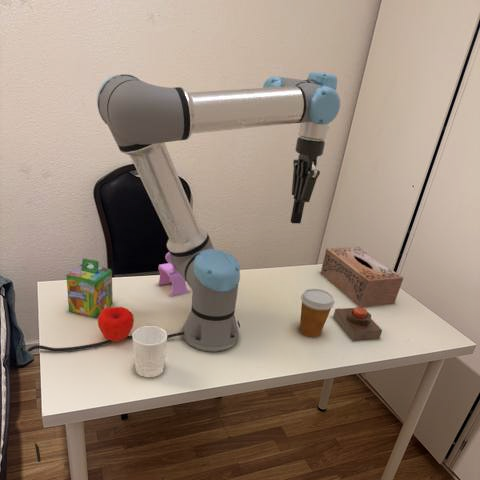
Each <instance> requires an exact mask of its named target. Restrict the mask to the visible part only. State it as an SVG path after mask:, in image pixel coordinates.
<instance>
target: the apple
mask: <svg viewBox="0 0 480 480" xmlns="http://www.w3.org/2000/svg"><path fill="white" fill-rule="evenodd" d="M134 321H135V319H134V314H133V312H132V311H131V310H130V309H128V308H125V307H122V306H110V307H109V308H106V309H104V310H103V311H102V312H101V313H100V315H99V317H98V318H97V326H98V329H99V331H100V332H101V334H102V336H103V337H104V338H105V339H106V340H110V341H114V342H120V341H124V340H126V339H125V338H126V337H127V336H130V334H131V332H132V329H133V327H134Z"/></svg>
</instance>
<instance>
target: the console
mask: <svg viewBox="0 0 480 480" xmlns="http://www.w3.org/2000/svg"><path fill="white" fill-rule="evenodd" d="M354 308H355V307H346V308H344V307H343V308H334V312H333V316H332V317H333V319H334V320H335V322H336V323H337V324H338V325H339V327H340V328H341V329H342V330H343V331H344V332H345V334H346V335H347V336H348V337H349V338H350V339H351V341H352V342H358V341H371V340H380V338H381V335H382V332H383V329H382V328H381V327H380V326H379V325H378V324H377V323H376V322H375V321H374V320H373V319H372V315H371V314H370V312H369V311H368V312H367V316H366V318H358V317H356V316H354V315H353V311H354Z"/></svg>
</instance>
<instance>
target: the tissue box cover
mask: <svg viewBox="0 0 480 480" xmlns="http://www.w3.org/2000/svg"><path fill="white" fill-rule="evenodd" d="M320 274H321V275H322V276H323V277H324V278H326V279H327V280H328V281H329V282H330V283H331V284H332V285H333V286H335V287H336V288H337V289H338V290H339V291H340V292H342V293H343V294H344V295H345V296H346V297H348V298H349V299H350V301H352V302H353V303H354V304H356V305H357V307H362V308H367V307H377V306H384V305H385V306H386V305H395V304H396V300H397V297H398V294H399V292H400V289H401V287H402V283H403V281H404V277H403V276H402V275H400V274H399V273H397V272H396V271H395V270H393V269H391V268H390V267H389V266H387V265H386V264H385V263H383V262H382V261H381V260H379V259H377V257H376V258H375V256H373V255H372V254H370V253H369V252H367V251H366V250H364V249H363V248H362V247H360V246H348V247H347V246H346V247H345V246H344V247H331V248H330V247H328V248H325V253H324V256H323V260H322V265H321V270H320Z"/></svg>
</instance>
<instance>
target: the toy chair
mask: <svg viewBox="0 0 480 480" xmlns="http://www.w3.org/2000/svg"><path fill="white" fill-rule="evenodd" d="M164 258H165V259H164V260H166V262H167V263H162V264H158V270H157V271H158V273H159V279H158V283H157V286H162V285H167V284H171V285H172V289H171V293H170V297H174V296H177V295H178V296H179V295H182V294H186V293H189V290H188V288H187V285H186V283H187V282H186V281H185V279H184V278H183V277H182V275H181V274H180V273H179V272H178V271H177V270H176V268H175V267H174V265H173V263H172V260H171V256H170V252H169V251H168V252H167V253H166V254H165V255H164Z"/></svg>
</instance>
